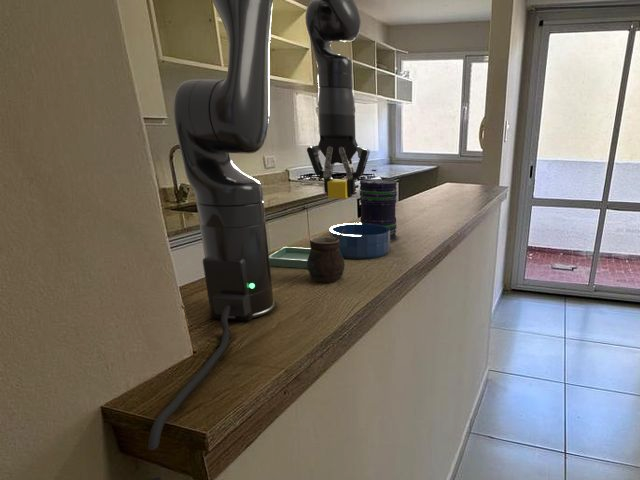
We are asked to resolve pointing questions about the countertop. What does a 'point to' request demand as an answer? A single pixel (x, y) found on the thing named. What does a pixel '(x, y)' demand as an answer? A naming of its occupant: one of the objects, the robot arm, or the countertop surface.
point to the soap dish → (290, 257)
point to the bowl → (362, 240)
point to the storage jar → (379, 203)
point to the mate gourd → (325, 259)
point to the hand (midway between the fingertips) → (340, 195)
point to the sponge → (337, 189)
